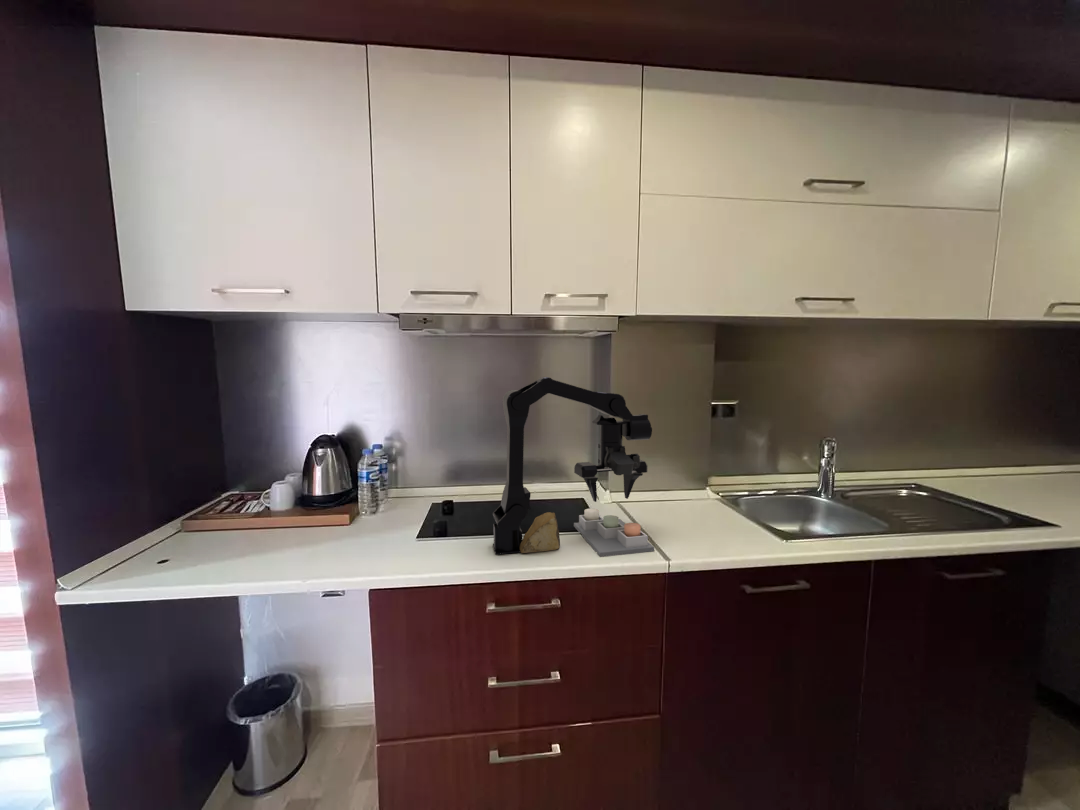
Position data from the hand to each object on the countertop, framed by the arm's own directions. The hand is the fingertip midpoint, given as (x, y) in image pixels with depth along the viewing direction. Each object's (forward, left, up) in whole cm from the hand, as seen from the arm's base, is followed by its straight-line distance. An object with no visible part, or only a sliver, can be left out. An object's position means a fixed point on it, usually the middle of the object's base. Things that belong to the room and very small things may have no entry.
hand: (610, 499), depth 120 cm
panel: (0, 0, -10) cm, 10 cm away
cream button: (-3, +7, -8) cm, 11 cm away
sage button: (0, 0, -8) cm, 8 cm away
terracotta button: (+3, -7, -8) cm, 11 cm away
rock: (-20, -3, -11) cm, 23 cm away
